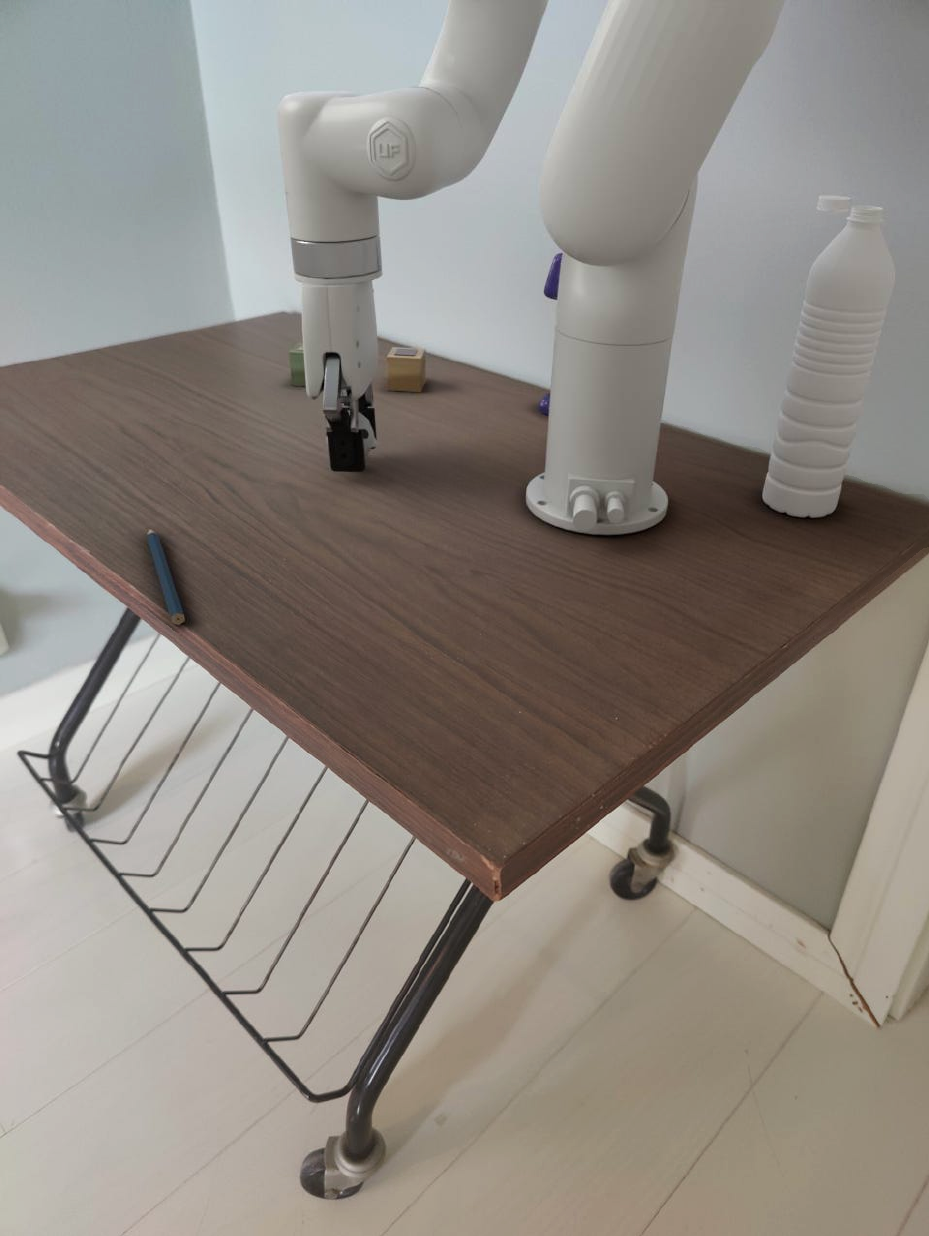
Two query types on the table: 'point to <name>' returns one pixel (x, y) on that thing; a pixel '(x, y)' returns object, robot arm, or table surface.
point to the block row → (401, 368)
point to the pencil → (165, 579)
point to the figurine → (365, 434)
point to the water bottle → (830, 364)
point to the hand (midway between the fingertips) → (354, 457)
